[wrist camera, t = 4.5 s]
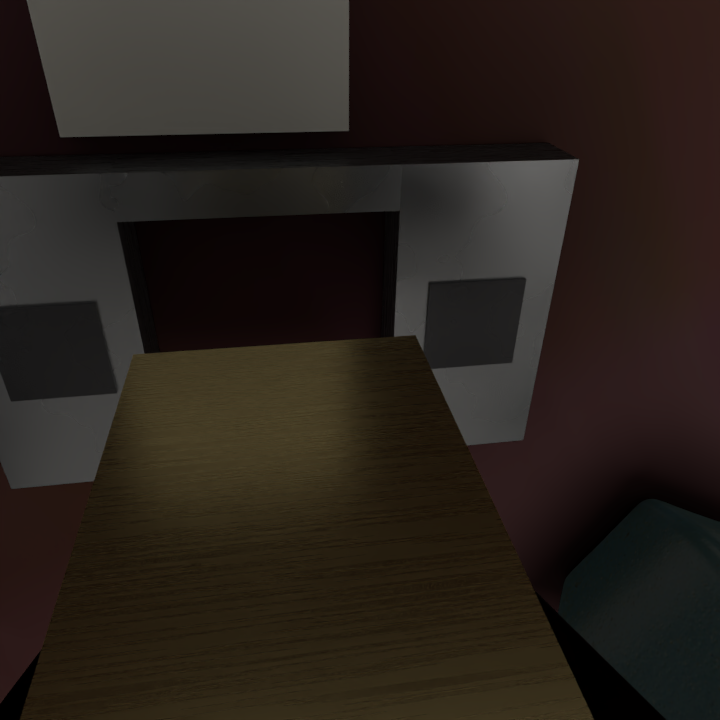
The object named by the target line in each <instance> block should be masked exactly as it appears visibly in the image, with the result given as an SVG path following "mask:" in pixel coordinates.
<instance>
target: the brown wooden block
mask: <svg viewBox="0 0 720 720" xmlns="http://www.w3.org/2000/svg"><path fill="white" fill-rule="evenodd" d="M20 720H594V718H593V716H592V714H591V712H590V710H589V708H588V706H587V703H586V701H585V699H584V697H583V695H582V693H581V690H580V688H579V686H578V684H577V682H576V680H575V678H574V675H573V673H572V671H571V669H570V667H569V665H568V662H567V660H566V658H565V656H564V654H563V652H562V650H561V647H560V645H559V643H558V641H557V639H556V637H555V634H554V632H553V630H552V628H551V626H550V624H549V622H548V619H547V617H546V615H545V613H544V611H543V609H542V606H541V604H540V602H539V600H538V598H537V596H536V594H535V591H534V589H533V587H532V585H531V583H530V581H529V578H528V576H527V574H526V572H525V570H524V568H523V566H522V563H521V561H520V559H519V557H518V555H517V553H516V550H515V548H514V546H513V544H512V542H511V540H510V538H509V535H508V533H507V531H506V529H505V527H504V525H503V522H502V520H501V518H500V516H499V514H498V512H497V510H496V507H495V505H494V503H493V501H492V499H491V497H490V494H489V492H488V490H487V488H486V486H485V484H484V482H483V479H482V477H481V475H480V473H479V471H478V469H477V466H476V464H475V462H474V460H473V458H472V456H471V454H470V451H469V449H468V447H467V445H466V443H465V441H464V438H463V436H462V434H461V432H460V430H459V428H458V426H457V423H456V421H455V419H454V417H453V415H452V413H451V411H450V408H449V406H448V404H447V402H446V400H445V398H444V395H443V393H442V391H441V389H440V387H439V385H438V383H437V380H436V378H435V376H434V374H433V372H432V370H431V367H430V365H429V363H428V361H427V359H426V357H425V355H424V352H423V350H422V348H421V346H420V344H419V342H418V339H417V337H416V335H411V336H396V337H382V338H367V339H353V340H338V341H323V342H309V343H294V344H280V345H265V346H250V347H236V348H221V349H207V350H192V351H178V352H163V353H148V354H134V355H133V357H132V360H131V363H130V367H129V370H128V373H127V376H126V380H125V383H124V386H123V389H122V392H121V396H120V399H119V402H118V405H117V409H116V412H115V415H114V418H113V421H112V425H111V428H110V431H109V434H108V437H107V441H106V444H105V447H104V450H103V454H102V457H101V460H100V463H99V466H98V470H97V473H96V476H95V479H94V483H93V486H92V489H91V492H90V495H89V499H88V502H87V505H86V508H85V511H84V515H83V518H82V521H81V524H80V528H79V531H78V534H77V537H76V540H75V544H74V547H73V550H72V553H71V557H70V560H69V563H68V566H67V569H66V573H65V576H64V579H63V582H62V585H61V589H60V592H59V595H58V598H57V602H56V605H55V608H54V611H53V614H52V618H51V621H50V624H49V627H48V631H47V634H46V637H45V640H44V643H43V647H42V650H41V653H40V656H39V659H38V663H37V666H36V669H35V672H34V676H33V679H32V682H31V685H30V688H29V692H28V695H27V698H26V701H25V705H24V708H23V711H22V714H21V717H20Z"/></svg>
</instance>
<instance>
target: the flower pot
mask: <svg viewBox="0 0 720 720" xmlns="http://www.w3.org/2000/svg"><path fill="white" fill-rule="evenodd" d="M558 614H559V615H560V616H561V617H562V618H563V619H564V620H565V621H566V622H567V623H568V624H569V625H570V626H571V627H572V628H573V629H574V630H575V631H576V632H577V633H578V634H580V635H581V636H582V637H583V638H584V639H585V640H586V641H587V642H588V643H589V644H590V645H591V646H592V647H593V648H594V649H595V650H596V651H597V652H598V653H599V654H600V655H601V656H602V657H603V658H604V659H605V660H606V661H607V662H608V663H609V664H610V665H611V666H612V667H613V668H614V669H615V670H616V671H617V672H618V673H619V674H620V675H621V676H622V677H623V678H624V679H625V680H626V681H627V682H628V683H630V684H631V685H632V686H633V687H634V688H635V689H636V690H637V691H638V692H639V693H640V694H641V695H642V696H643V697H644V698H645V699H646V700H647V701H648V702H649V703H650V704H651V705H652V706H653V707H654V708H655V709H656V710H657V711H658V712H659V713H660V714H661V715H662V716H663V717H664V718H665V719H666V720H720V522H718V521H716V520H713V519H710V518H707V517H704V516H701V515H698V514H695V513H693V512H690V511H687V510H684V509H681V508H679V507H676V506H674V505H671V504H669V503H666V502H663V501H660V500H657V499H647V500H644V501H642V502H641V503H639V504H638V505H637V506H636V507H635V508H634V509H633V510H632V511H631V512H630V513H629V514H628V515H627V516H626V517H625V518H624V519H623V520H622V521H621V522H620V523H619V524H618V525H617V526H616V527H615V528H614V529H613V530H612V531H611V532H610V533H609V534H608V535H607V536H606V537H605V539H604V540H603V541H602V542H601V543H600V544H599V545H598V546H597V547H596V548H595V549H594V550H593V551H592V552H590V553H589V554H588V555H587V556H586V557H585V558H584V559H583V560H582V561H581V562H580V563H579V564H578V565H577V566H576V567H575V568H574V569H573V570H572V571H571V572H570V573H569V575H568V576H567V577H566V579H565V581H564V585H563V590H562V594H561V599H560V604H559V610H558Z"/></svg>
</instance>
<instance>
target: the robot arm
mask: <svg viewBox="0 0 720 720" xmlns="http://www.w3.org/2000/svg"><path fill="white" fill-rule="evenodd" d="M534 591H535V590H534ZM535 594H536V596H537V598H538V600H539V602H540V604H541V606H542V609H543V611H544V613H545V615H546V617H547V619H548V622H549V624H550V626H551V628H552V630H553V632H554V634H555V637H556V639H557V641H558V643H559V645H560V647H561V650H562V652H563V654H564V656H565V658H566V660H567V662H568V665H569V667H570V669H571V671H572V673H573V675H574V678H575V680H576V682H577V684H578V686H579V688H580V690H581V693H582V695H583V697H584V699H585V701H586V703H587V706H588V708H589V710H590V712H591V714H592V716H593V718H594V720H666V719H665V718H664V717H663V716H662V715H661V714H660V713H659V712H658V711H657V710H656V709H655V708H654V707H653V706H652V705H651V704H650V703H649V702H648V701H647V700H646V699H645V698H644V697H643V696H642V695H641V694H640V693H639V692H638V691H637V690H636V689H635V688H634V687H633V686H632V685H631V684H630V683H628V682H627V681H626V680H625V679H624V678H623V677H622V676H621V675H620V674H619V673H618V672H617V671H616V670H615V669H614V668H613V667H612V666H611V665H610V664H609V663H608V662H607V661H606V660H605V659H604V658H603V657H602V656H601V655H600V654H599V653H598V652H597V651H596V650H595V649H594V648H593V647H592V646H591V645H590V644H589V643H588V642H587V641H586V640H585V639H584V638H583V637H582V636H581V635H580V634H578V633H577V632H576V631H575V630H574V629H573V628H572V627H571V626H570V625H569V624H568V623H567V622H566V621H565V620H564V619H563V618H562V617H561V616H560V615H559V614H558V613H557V612H556V611H555V610H554V609H553V608H552V607H551V606H550V605H549V604H548V603H547V602H546V601H545V600H544V599H543V598H542V597H541V596H540V595H539V594H538V593H537V592H536V591H535ZM40 653H41V651H40V652H39V653H38V655H37V656H36V657H35V659H34V660H33V661H32V663H31V664H30V665H29V667H28V668H27V669H26V671H25V672H24V673H23V675H22V676H21V677H20V678H19V680H18V681H17V682H16V684H15V685H14V686H13V688H12V689H11V690H10V692H9V693H8V694H7V696H6V697H5V698H4V700H3V701H2V702H1V704H0V720H20V717H21V714H22V711H23V708H24V705H25V701H26V698H27V695H28V692H29V688H30V685H31V682H32V679H33V676H34V672H35V669H36V666H37V663H38V659H39V656H40Z"/></svg>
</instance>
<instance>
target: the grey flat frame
mask: <svg viewBox="0 0 720 720" xmlns="http://www.w3.org/2000/svg"><path fill="white" fill-rule="evenodd" d="M578 163H579V159H578V158H576V157H574V156H572V155H570V154H568V153H567V152H565V151H563V150H561V149H559V148H557V147H556V146H554V145H552V144H550V143H526V144H487V145H448V146H409V147H370V148H331V149H292V150H253V151H214V152H175V153H136V154H97V155H58V156H19V157H0V462H1V464H2V467H3V469H4V472H5V474H6V476H7V479H8V481H9V484H10V486H11V489H16V488H26V487H37V486H47V485H58V484H68V483H79V482H89V481H94V479H95V476H96V473H97V470H98V466H99V463H100V460H101V457H102V454H103V450H104V447H105V444H106V441H107V437H108V434H109V431H110V428H111V425H112V421H113V418H114V415H115V412H116V409H117V405H118V402H119V399H120V396H121V392H122V389H123V386H124V383H125V380H126V376H127V373H128V370H129V367H130V363H131V360H132V357H133V355H134V354H148V353H160V352H159V347H158V342H157V337H156V331H155V326H154V321H153V316H152V311H151V306H150V301H149V296H148V291H147V285H146V280H145V275H144V270H143V265H142V260H141V255H140V250H139V245H138V239H137V234H136V229H135V224H134V221H158V220H182V219H207V218H232V217H257V216H281V215H306V214H331V213H356V212H381V211H385V239H384V269H383V299H382V328H381V338H382V337H396V336H411V335H416V337H417V339H418V342H419V344H420V346H421V348H422V350H423V352H424V355H425V357H426V359H427V361H428V363H429V365H430V367H431V370H432V372H433V374H434V376H435V378H436V380H437V383H438V385H439V387H440V389H441V391H442V393H443V395H444V398H445V400H446V402H447V404H448V406H449V408H450V411H451V413H452V415H453V417H454V419H455V421H456V423H457V426H458V428H459V430H460V432H461V434H462V436H463V438H464V441H465V443H466V445H475V444H486V443H496V442H507V441H517V440H523V438H524V433H525V428H526V423H527V418H528V413H529V408H530V403H531V398H532V393H533V388H534V383H535V378H536V373H537V368H538V363H539V358H540V353H541V348H542V343H543V338H544V333H545V328H546V323H547V318H548V313H549V308H550V303H551V298H552V293H553V288H554V283H555V278H556V273H557V268H558V263H559V258H560V253H561V248H562V243H563V238H564V233H565V228H566V223H567V218H568V213H569V208H570V203H571V198H572V193H573V188H574V183H575V178H576V173H577V168H578Z"/></svg>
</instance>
